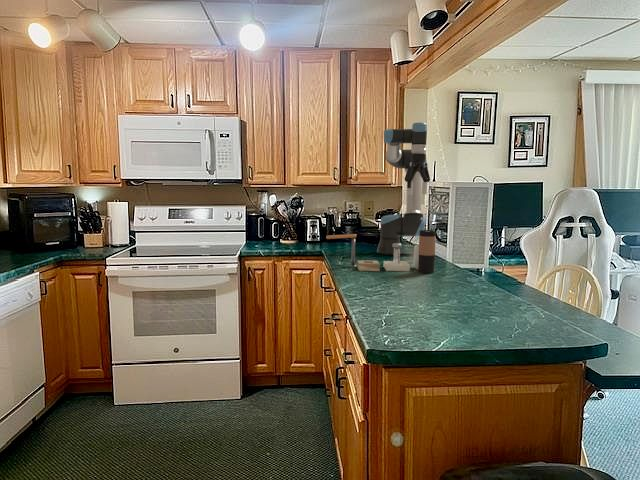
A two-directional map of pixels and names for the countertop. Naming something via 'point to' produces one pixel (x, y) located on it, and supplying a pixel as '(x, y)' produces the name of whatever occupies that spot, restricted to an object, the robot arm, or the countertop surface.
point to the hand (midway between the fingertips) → (417, 194)
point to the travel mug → (427, 251)
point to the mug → (416, 256)
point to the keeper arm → (340, 236)
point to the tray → (396, 266)
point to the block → (368, 265)
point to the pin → (396, 253)
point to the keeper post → (353, 254)
